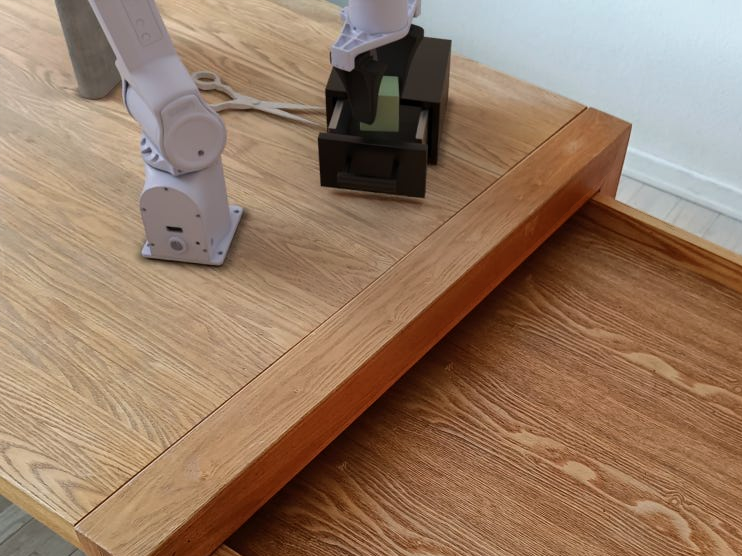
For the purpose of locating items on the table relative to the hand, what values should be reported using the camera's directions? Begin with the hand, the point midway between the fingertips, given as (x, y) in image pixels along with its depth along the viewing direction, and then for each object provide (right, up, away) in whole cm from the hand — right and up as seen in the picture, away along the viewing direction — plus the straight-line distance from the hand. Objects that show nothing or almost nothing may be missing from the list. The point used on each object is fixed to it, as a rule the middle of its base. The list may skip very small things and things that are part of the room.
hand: (378, 108), depth 94 cm
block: (0, -1, +1) cm, 1 cm away
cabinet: (0, +3, +13) cm, 13 cm away
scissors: (-17, +5, +12) cm, 22 cm away
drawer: (-1, -5, +5) cm, 7 cm away
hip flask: (-34, +12, +16) cm, 40 cm away
